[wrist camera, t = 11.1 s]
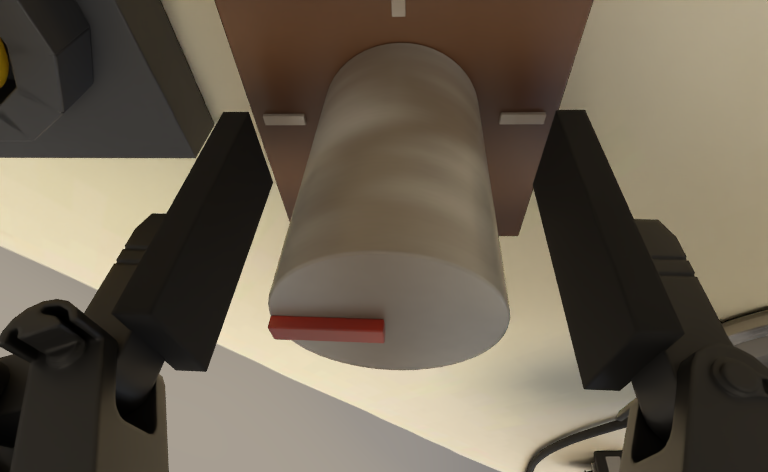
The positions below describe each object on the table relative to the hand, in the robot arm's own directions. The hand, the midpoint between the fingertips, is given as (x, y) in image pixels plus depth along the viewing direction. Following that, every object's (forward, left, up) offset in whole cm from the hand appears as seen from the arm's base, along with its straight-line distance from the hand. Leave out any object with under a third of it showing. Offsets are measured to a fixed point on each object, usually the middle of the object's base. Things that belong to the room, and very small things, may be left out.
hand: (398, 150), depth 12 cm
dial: (0, 0, -2) cm, 2 cm away
